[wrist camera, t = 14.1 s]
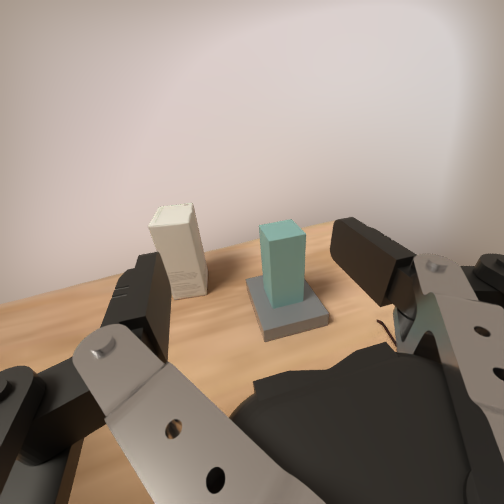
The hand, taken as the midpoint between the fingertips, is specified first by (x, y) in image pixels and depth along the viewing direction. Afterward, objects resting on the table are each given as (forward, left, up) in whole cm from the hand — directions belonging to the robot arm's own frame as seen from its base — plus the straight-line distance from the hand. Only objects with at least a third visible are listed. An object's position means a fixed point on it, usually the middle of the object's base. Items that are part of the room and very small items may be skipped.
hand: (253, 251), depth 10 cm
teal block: (+8, +18, -21) cm, 29 cm away
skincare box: (-7, +29, -24) cm, 38 cm away
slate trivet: (+8, +18, -23) cm, 30 cm away
